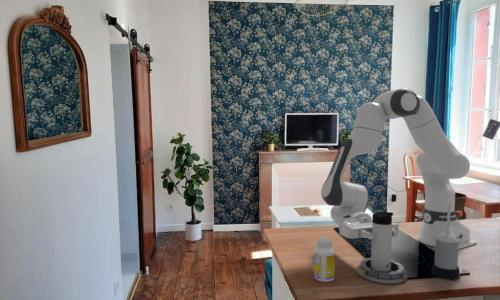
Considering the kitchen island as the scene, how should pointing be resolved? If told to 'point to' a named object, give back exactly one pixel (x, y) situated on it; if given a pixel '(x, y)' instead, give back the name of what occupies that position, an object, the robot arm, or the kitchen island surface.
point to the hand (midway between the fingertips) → (384, 235)
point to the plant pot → (459, 203)
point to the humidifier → (446, 253)
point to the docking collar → (382, 273)
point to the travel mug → (381, 241)
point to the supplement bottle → (324, 260)
